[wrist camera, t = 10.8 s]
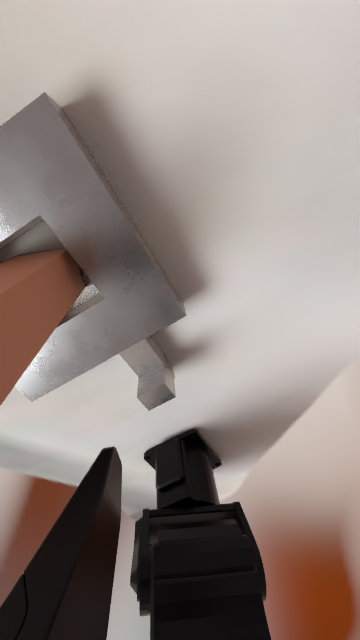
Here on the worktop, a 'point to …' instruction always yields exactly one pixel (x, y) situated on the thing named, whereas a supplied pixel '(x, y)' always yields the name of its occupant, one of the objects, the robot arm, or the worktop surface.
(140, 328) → the grey square frame
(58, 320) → the wedge pin
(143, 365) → the bracket
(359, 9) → the worktop surface
